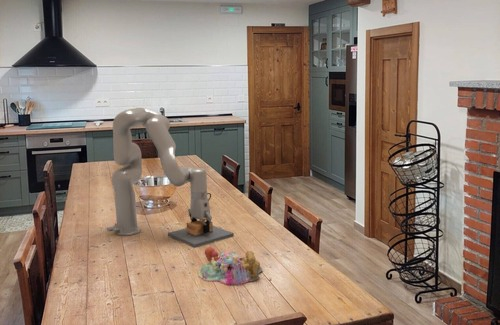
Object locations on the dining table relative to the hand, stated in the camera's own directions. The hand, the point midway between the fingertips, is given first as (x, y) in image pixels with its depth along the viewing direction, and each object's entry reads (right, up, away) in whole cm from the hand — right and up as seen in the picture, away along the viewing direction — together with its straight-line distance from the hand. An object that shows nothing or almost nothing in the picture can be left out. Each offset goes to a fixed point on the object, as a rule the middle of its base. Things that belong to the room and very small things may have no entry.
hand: (200, 230), depth 246 cm
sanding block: (0, -1, 0) cm, 1 cm away
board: (0, -3, +1) cm, 3 cm away
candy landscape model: (+16, -11, -43) cm, 47 cm away
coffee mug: (-3, +5, +43) cm, 44 cm away
